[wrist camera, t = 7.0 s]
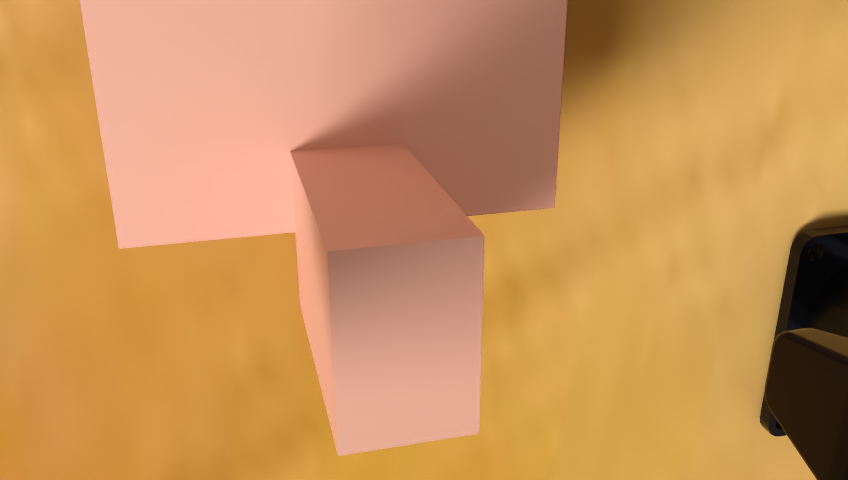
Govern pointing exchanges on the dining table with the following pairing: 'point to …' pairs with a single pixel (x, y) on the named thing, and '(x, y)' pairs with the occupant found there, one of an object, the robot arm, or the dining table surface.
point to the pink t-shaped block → (341, 169)
